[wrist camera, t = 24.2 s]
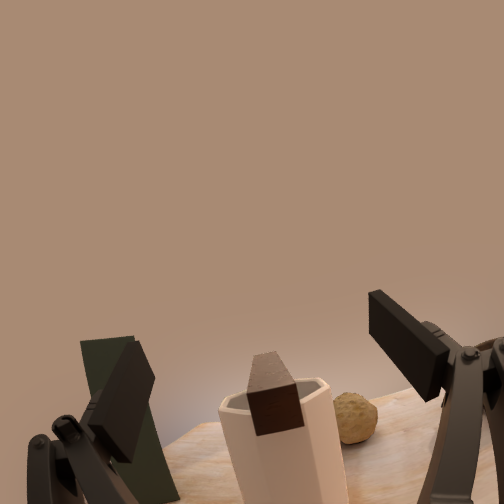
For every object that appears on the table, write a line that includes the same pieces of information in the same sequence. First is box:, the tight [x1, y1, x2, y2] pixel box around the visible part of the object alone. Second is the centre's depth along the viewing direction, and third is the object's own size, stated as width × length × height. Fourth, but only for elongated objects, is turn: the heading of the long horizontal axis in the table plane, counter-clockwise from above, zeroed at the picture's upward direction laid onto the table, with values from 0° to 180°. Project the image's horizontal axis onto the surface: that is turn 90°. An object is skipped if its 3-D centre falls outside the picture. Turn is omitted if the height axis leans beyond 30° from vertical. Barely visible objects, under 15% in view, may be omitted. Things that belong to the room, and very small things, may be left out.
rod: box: [246, 351, 305, 436], centre depth 26 cm, size 3×22×3 cm, turn 178°
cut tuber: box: [333, 393, 378, 444], centre depth 43 cm, size 10×10×10 cm
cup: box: [218, 378, 349, 504], centre depth 23 cm, size 11×11×18 cm
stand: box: [80, 336, 180, 504], centre depth 35 cm, size 8×10×27 cm
